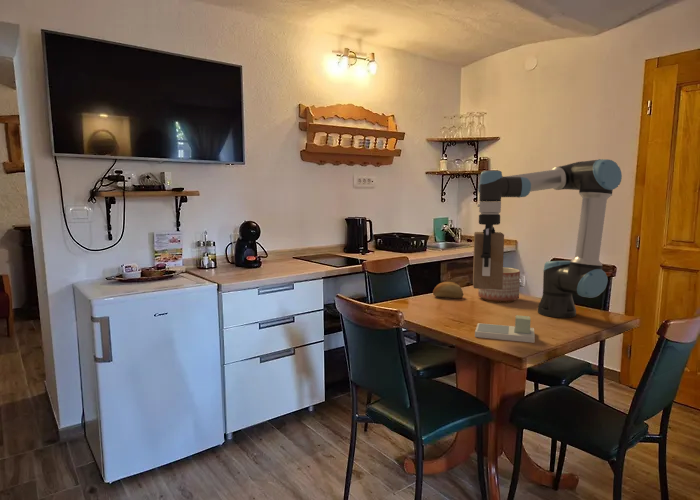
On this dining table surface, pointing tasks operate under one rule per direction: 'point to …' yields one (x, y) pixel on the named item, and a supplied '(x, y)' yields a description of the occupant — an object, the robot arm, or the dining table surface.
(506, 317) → the dining table surface
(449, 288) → the bread roll
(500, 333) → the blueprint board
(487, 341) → the dining table surface
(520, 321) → the sage cube
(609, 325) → the dining table surface
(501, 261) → the wooden block
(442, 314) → the dining table surface
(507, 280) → the planter
